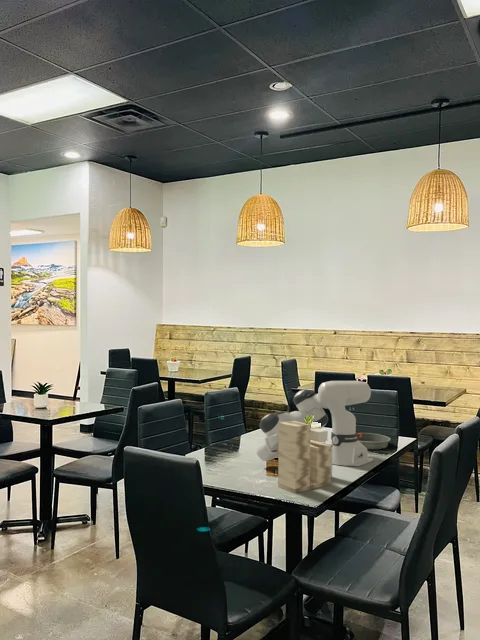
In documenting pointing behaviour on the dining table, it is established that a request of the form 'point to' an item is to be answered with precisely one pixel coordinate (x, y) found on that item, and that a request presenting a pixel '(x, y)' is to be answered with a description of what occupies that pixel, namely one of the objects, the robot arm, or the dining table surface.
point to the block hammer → (318, 435)
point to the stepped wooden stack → (302, 459)
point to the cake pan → (378, 439)
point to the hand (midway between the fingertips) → (300, 431)
